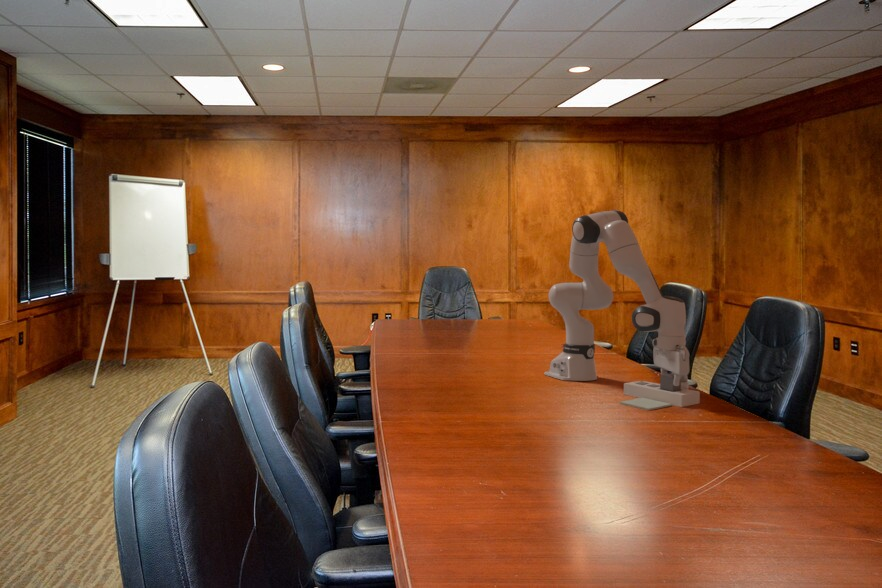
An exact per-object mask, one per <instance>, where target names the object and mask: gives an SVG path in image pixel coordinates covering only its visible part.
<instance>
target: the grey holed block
mask: <svg viewBox="0 0 882 588" xmlns="http://www.w3.org/2000/svg"><path fill="white" fill-rule="evenodd" d="M700 394H701V391H698V390H693V389H683V388H681V391H676V392H671V391H666V390H661V389H660V383H656V382H650V381H646V380H636V381H631V382H624V383H623V395H625V396H629V397H633V398H647V399H651V400H656V401H660V402H665V403H669V404H672V406H673V407H674V406H675V407H679V408H684V407H689V406H693V405H698V404H700V400H701V399H700V397H701V396H700Z"/></svg>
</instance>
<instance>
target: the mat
mask: <svg viewBox="0 0 882 588" xmlns="http://www.w3.org/2000/svg"><path fill="white" fill-rule="evenodd" d="M619 405H624V406H629V407H632V408H637V409H641V410H646V411H652V410H658V409H662V408H669V407H671V406H673V405H672V404H669V403H665V402H660V401H656V400H651V399H647V398H638V397H636V398H633V399H628V400H623V401H622V400H621V401H619Z"/></svg>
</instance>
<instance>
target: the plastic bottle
mask: <svg viewBox="0 0 882 588" xmlns="http://www.w3.org/2000/svg"><path fill="white" fill-rule="evenodd" d="M686 345H687V341H686V338H685V350H686V352H687V353H688V356H689V357H690V351H689V350H688V348H687V347H686ZM671 374H674V373H673V372H671ZM688 378H689V377H688V375H682V376H681V388H683V389H688V390H690V387H689V379H688Z"/></svg>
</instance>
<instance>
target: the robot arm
mask: <svg viewBox="0 0 882 588" xmlns="http://www.w3.org/2000/svg"><path fill="white" fill-rule="evenodd" d="M571 228H572V237H571V241H570V242H571V243H570V250H569V251H570V252H569V262H568V263H569V264H568V268H569V271H570V272H571V273H572V274H573V275H575V276H576V277H579V278H581V279H582V280H583V281H582V282H560V283H556V284H553V285H552V286H551V287H550V289H549V291H548V294H547V296H548V301H549V303H550V305H551V306H552V307H553V308H554V309H555V310H556V311H557V312H559V314H560V316H561V317H562V320H563V322H564V324H565V325H564V326H565V343H564V344H563V343H562V344H561V348H562V352H560V353H559V354H558V355H557V356H555V357H554V358H553V359H552V360H550V361H551V362H550V364H549V366H550V367H549V370H546V371H545V372H543V374H544V375H545V376H547V377H551V378H555V379H558V380H561V381H576V382H577V381H578V382H579V381H580V382H583V381H584V382H585V381H586V382H589V381H595V380H598V376H597V371H596V370H597V369H596V363H595V361H596V360H595V352H596V350H595V349H596V347H595V346H596V345H595V343H594V342H595V327H594V324H593V323H592V322H591V320H589V319H586V317H583V316H581V315H580V311H581V310H586V311H587V310H588V311H589V310H590V311H592V310H593V311H595V310H603V309H607V308H609V307H610V306H611V305H612V303H613V300H614V291H613V290H612V288H611V286H609V285H608V284H607V283H606V282H605V281H604V280H603V279H602V277H601V275H600V272H599V254H600V252H599V251H600V243H603V244H605V246H606V250H607V253H608V256H609V259H610V262H611V263H612V266H613V267H614V269H615V271H617V272H618V273H619V274H621V275H622V276H625V277H627V278H629V279H630V280H632V281H633V282H635V284H636V285H637V286H638V288H639V290H640V292H641V294H642V295H641V296H643V297H642V298H643V299H644V301H645V304H641V305H640V306H637V307H636V308H635V309H634V310H633V312H632V313H631V323H632V325H633V326H634V329H636V330H637V331H639V332H641V333H642V332H643V333H650V332H651V333H652V332H657V337H656V338H654V339H652V346H653V351H652V352H653V364H654V366H655V367H658V368H660V375H662V374H668V373H669V372H671V373H672V372H673V373H674V380H673V381H672V382H673V383H672V384H673V385H674V386H679V381H680V379H681V376H682V375H687V376H688V375H689V374H690V355H689V356H688V353H687V352H686V350H685V347H686V345H685V339H686V331H685V326H686V324H687V319H686V318H687V314H686V313H687V312H686V304H685V302H684V300H683V299H682V298H679V297H677V296H671V295H663V293H662V292H661V289H660V287H659V285H658V282H657V281H656V278H655V276H654V274H653V272H652V270H651V269H650V266H649V265H648V263H647V261H646V259H645V257H644V254H643V252H642V248H641V246H640V244H639V241H638V239H637V236H636V235H635V233H634V231H633V229H632V228H631V225H630V224H629V219H628V217H627V215H626V214H625V213H624V212H623V211H621V210H616V209H615V210H609V211H608V210H604V211H597V212H594V213H590V214H587V215H586V214H585V215H581V216H579V217H577V218H575V220H574V221H573V223H572V227H571ZM668 371H669V372H668Z"/></svg>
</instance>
